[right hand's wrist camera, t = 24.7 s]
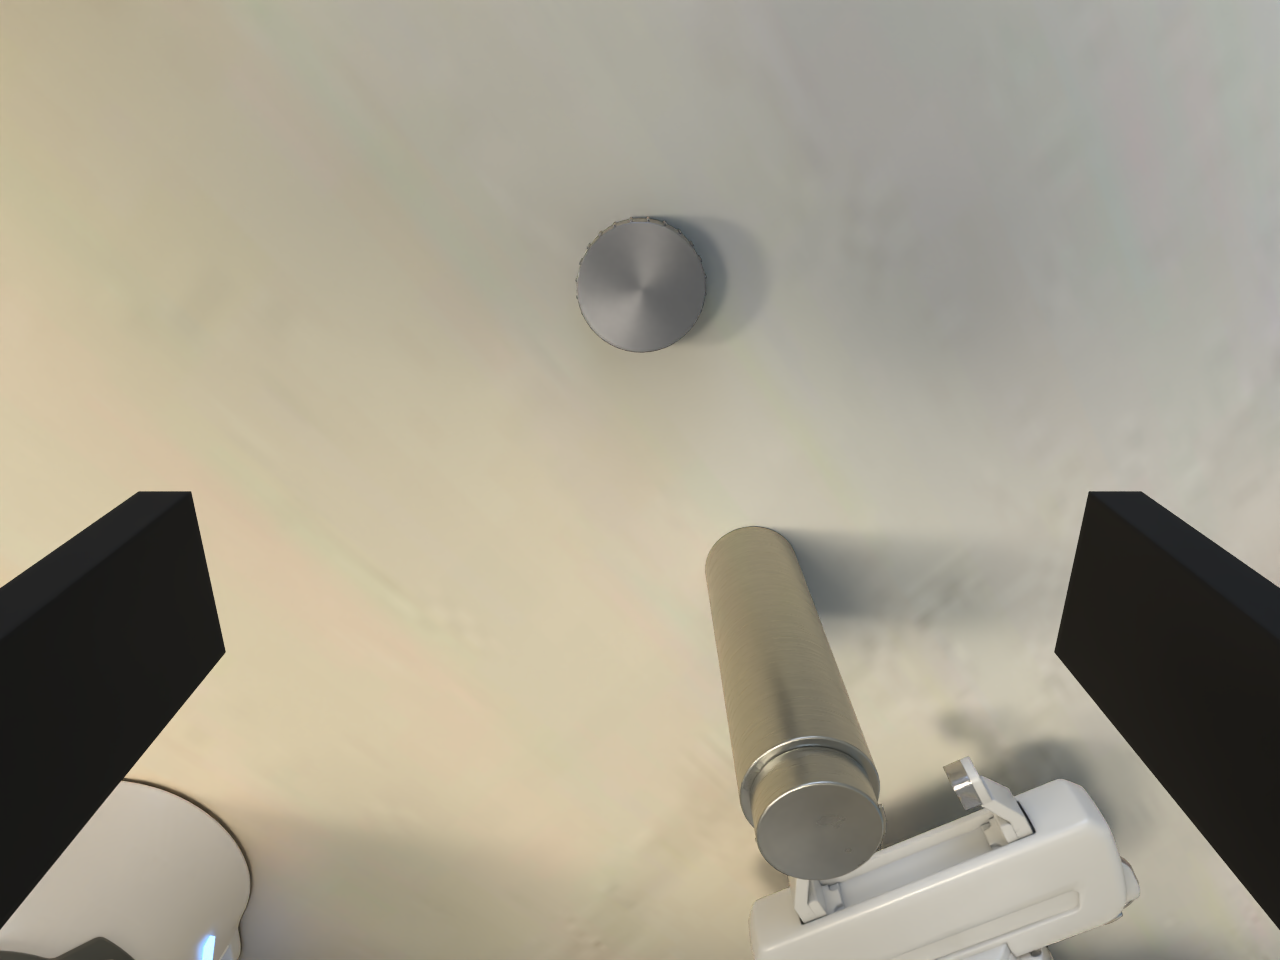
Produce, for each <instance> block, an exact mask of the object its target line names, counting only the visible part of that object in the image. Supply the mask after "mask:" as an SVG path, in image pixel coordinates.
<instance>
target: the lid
mask: <svg viewBox="0 0 1280 960" xmlns="http://www.w3.org/2000/svg"><path fill="white" fill-rule="evenodd" d="M693 246H694V245H693V243H692V242H691V241H688V240H687V238H686V237H685V236H684V235H683V234H682V233H681V231H680V229H678V230H677V229H675V228H674V227H672V226H670V225H668V224H666V221H663V222H661V221H658V220H654V219H649V217H647V218H634V219H633V218H632V217H630V219H628V220H624V221H621V222H619V223H616V222H614V224H613V225H612V226H610V227H609V228H607V229H606V230H604V231H603V232H602V231H600V233H599V235H598V237H597V238H596V239H595V240H594V241H593V242H592V244H591V243H589V245H588V247H587V249H588V250H587V252H586V254H585V256H584V258H582V259H581V261H580V263H579V264H580V268H579V272H578V276H577V278H576V282H577V299H578V302H579V306H580V309H581V312H582V315H583V316H584V318H585V320H586V322H587V323H588V325H589V326H590V328H591V329H592V330H593V331H594V332H595V333H596V334H597V335H598V336H599V337H600V338H601V339H603V340H604V341H606V342H607V343H609V344H610V345H612V346H615V347H617V348H619V349H622V350H626V351H631V352H652V351H656V350H660V349H663V348H666V347H668V346H670V345H672V344H674V343H675V342H677V341H678V340H680V339H681V338H682V337H683V336H684V335H685V334H687V332H688V331H689V330H690V329H691V328H692V327H693V325H694V324H695V322H696V321H697V319H698V317H699V315H700V313H701V311H702V307H703V304H704V299H705V296H706V292H705V290H706V284H705V278H706V275H705V273H704V270H703V267H702V264H701V262H702V259H701V257H700V256H699V255H697V253H696V251H695V249H694V248H693Z"/></svg>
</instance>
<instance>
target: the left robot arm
mask: <svg viewBox="0 0 1280 960" xmlns="http://www.w3.org/2000/svg"><path fill="white" fill-rule="evenodd" d="M943 768H944V771H945V773H946V775H947V776H948V779H949V781H950V783H951V785H952V787H953V789H954V791H955V793H956V795H957V796H958V798H959V800H960V802H961V804H962V806H963V808H964V809H965V810H968V809H971V808H974V807H976V806H979V805H980V806H982V807H984V809H981V810H979V811H976V812H974V813H971V814H969V815H966V816H964V817H961V818H959V819H956V820H954V821H951V822H949V823H946V824H944V825H942V826H939V827H937V828H934V829H932V830H929V831H927V832H924V833H922V834H919V835H917V836H914V837H912V838H909V839H907V840H904V841H902V842H899V843H897V844H894V845H892V846H889V847H887V848H885V849H882V850H880V851H877V852H875V853H874V855H873V856H872V857H871V858H870V859H869V860H868V861H867V862H866V863H865V864H863V865H862V866H861V867H859V868H858V869H856V870H854V871H852V872H851V873H848V874H846V875H843V876H840V877H837V878H833V879H828V880H803V879H798V878H794V877H791V876H788V879H789V884H790V887H788V888H785V889H783V890H780V891H778V892H775V893H773V894H770V895H768V896H765V897H762V898H760V899H758V900H756V901H755V902H754V903H753V906H752V908H751V912H750V916H749V933H750V941H751V947H752V952H753V957H754V960H1054V959H1053V957H1052V955H1051V953H1050V951H1049V949H1048V948H1047V947H1048V945H1051V944H1054V943H1057V942H1060V941H1062V940H1065V939H1068V938H1071V937H1073V936H1075V935H1078V934H1080V933H1083V932H1086V931H1089V930H1091V929H1094V928H1097V927H1099V926H1102V925H1106V924H1109V923H1112V922H1114V921H1116V920H1117V919H1119V918H1120V917H1122V916H1123V914H1122V910H1123V909H1124V908H1126V907H1127V906H1129V905H1130V904H1131V903H1132V902H1133V901H1134V899H1137V898H1138V897H1139V896H1140V887H1139V883H1138V880H1137V878H1136V875H1135V873H1134V871H1133V869H1132V867H1131V865H1130V864H1129V862H1128V861H1127V860H1125V859H1124V858H1123V857H1121V856H1120V854H1119V851H1118V848H1117V844H1116V842H1115V839H1114V836H1113V834H1112V831H1111V829H1110V827H1109V825H1108V823H1107V822H1106V820H1105V818H1104V817H1103V815H1102V814H1101V812H1100V810H1099V809H1098V807H1097V806H1096V804H1095V803H1094V801H1093V800H1092V798H1091V797H1090V796H1089V794H1088V793H1087V792H1086V790H1085V789H1084V788H1083V787H1082V786H1080V785H1078V784H1076V783H1073V782H1071V781H1068V780H1065V779H1056V780H1053V781H1050V782H1048V783H1046V784H1043V785H1041V786H1038V787H1036V788H1033V789H1031V790H1028V791H1026V792H1023V793H1021V794H1018V795H1016V796H1013V795H1012V793H1011V791H1010V789H1009V788H1008V787H1005V786H1003V785H1001V784H999V783H997V782H995V781H993V780H990V779H988V778H986V777H984V776H982V775H981V776H979V774H978V772H977V771H976V769H975V767H974V765H973V763H972V761H971V759H970V757H969V756H967V757H965V758H962V759H960V760H957V761H955V762H953V763H951V764H949V765H946V766H944V767H943ZM249 895H250V875H249V870H248V867H247V863H246V861H245V858H244V856H243V854H242V852H241V850H240V849H239V847H238V845H237V844H236V842H235V841H234V839H233V838H232V837H231V836H230V834H229V833H228V832H227V831H226V830H225V829H224V828H223V827H222V826H221V825H220V824H219V823H218V822H217V821H216V820H215V819H214V818H212V817H211V816H210V815H209V814H207V813H206V812H205V811H203V810H202V809H200V808H199V807H197V806H195V805H194V804H192V803H190V802H189V801H187V800H185V799H183V798H181V797H179V796H177V795H174V794H172V793H169V792H167V791H164V790H161V789H158V788H155V787H152V786H148V785H144V784H139V783H134V782H127V781H121V782H120V783H119V784H118V785H117V787H116V788H115V789H114V790H113V792H112V793H111V794H110V795H109V797H108V798H107V799H106V800H105V801H104V803H103V804H102V805H101V806H100V808H99V809H98V810H97V811H96V813H95V814H94V815H93V816H92V817H91V819H90V820H89V821H88V822H87V824H86V825H85V826H84V827H83V829H82V830H81V831H80V832H79V834H78V835H77V836H76V837H75V838H74V840H73V841H72V842H71V843H70V845H69V846H68V847H67V848H66V850H65V851H64V852H63V853H62V854H61V856H60V857H59V858H58V859H57V861H56V862H55V863H54V864H53V866H52V867H51V868H50V869H49V870H48V872H47V873H46V874H45V875H44V877H43V878H42V879H41V880H40V882H39V883H38V884H37V885H36V887H35V888H34V889H33V890H32V891H31V893H30V894H29V895H28V896H27V898H26V899H25V900H24V901H23V903H22V904H21V905H20V906H19V907H18V909H17V910H16V911H15V912H14V914H13V915H12V916H11V917H10V919H9V920H8V921H7V922H6V923H5V925H4V926H3V927H2V928H1V930H0V960H237V959H238V957H239V955H240V952H241V943H240V936H239V931H238V926H239V922H240V919H241V917H242V915H243V913H244V911H245V908H246V906H247V903H248V900H249Z"/></svg>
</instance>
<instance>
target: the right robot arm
mask: <svg viewBox="0 0 1280 960" xmlns="http://www.w3.org/2000/svg"><path fill="white" fill-rule="evenodd" d="M225 652H226V651H225V647H224V642H223V638H222V633H221V628H220V624H219V619H218V614H217V610H216V605H215V600H214V596H213V591H212V586H211V582H210V577H209V572H208V568H207V563H206V558H205V554H204V549H203V545H202V540H201V535H200V531H199V526H198V521H197V517H196V512H195V507H194V503H193V498H192V493H191V492H137V493H136V494H134V495H133V496H132V497H130V498H129V499H127V500H126V501H124V502H123V503H122V504H120V505H119V506H117V507H116V508H114V509H113V510H112V511H110V512H109V513H107V514H106V515H104V516H103V517H101V518H100V519H99V520H97V521H96V522H94V523H93V524H91V525H90V526H89V527H87V528H86V529H84V530H83V531H81V532H80V533H79V534H77V535H76V536H74V537H73V538H71V539H70V540H69V541H67V542H66V543H64V544H63V545H61V546H60V547H59V548H57V549H56V550H54V551H53V552H51V553H50V554H49V555H47V556H46V557H44V558H43V559H41V560H40V561H38V562H37V563H36V564H34V565H33V566H31V567H30V568H28V569H27V570H26V571H24V572H23V573H21V574H20V575H18V576H17V577H16V578H14V579H13V580H11V581H10V582H8V583H7V584H6V585H4V586H3V587H1V588H0V930H1V928H2V927H3V926H4V925H5V923H6V922H7V921H8V920H9V919H10V917H11V916H12V915H13V914H14V912H15V911H16V910H17V909H18V907H19V906H20V905H21V904H22V903H23V901H24V900H25V899H26V898H27V896H28V895H29V894H30V893H31V891H32V890H33V889H34V888H35V887H36V885H37V884H38V883H39V882H40V880H41V879H42V878H43V877H44V875H45V874H46V873H47V872H48V870H49V869H50V868H51V867H52V866H53V864H54V863H55V862H56V861H57V859H58V858H59V857H60V856H61V854H62V853H63V852H64V851H65V850H66V848H67V847H68V846H69V845H70V843H71V842H72V841H73V840H74V838H75V837H76V836H77V835H78V834H79V832H80V831H81V830H82V829H83V827H84V826H85V825H86V824H87V822H88V821H89V820H90V819H91V817H92V816H93V815H94V814H95V813H96V811H97V810H98V809H99V808H100V806H101V805H102V804H103V803H104V801H105V800H106V799H107V798H108V797H109V795H110V794H111V793H112V792H113V790H114V789H115V788H116V787H117V785H118V784H119V783H120V782H121V781H122V779H123V778H124V777H125V776H126V774H127V773H128V772H129V771H130V769H131V768H132V767H133V766H134V765H135V763H136V762H137V761H138V760H139V758H140V757H141V756H142V755H143V753H144V752H145V751H146V750H147V748H148V747H149V746H150V745H151V744H152V742H153V741H154V740H155V739H156V737H157V736H158V735H159V734H160V732H161V731H162V730H163V729H164V728H165V726H166V725H167V724H168V723H169V721H170V720H171V719H172V718H173V716H174V715H175V714H176V713H177V712H178V710H179V709H180V708H181V707H182V705H183V704H184V703H185V702H186V700H187V699H188V698H189V697H190V695H191V694H192V693H193V692H194V691H195V689H196V688H197V687H198V686H199V684H200V683H201V682H202V681H203V679H204V678H205V677H206V676H207V675H208V673H209V672H210V671H211V670H212V668H213V667H214V666H215V665H216V663H217V662H218V661H219V660H220V659H221V657H222V656H223V655H224V654H225ZM1054 652H1055V654H1056V655H1057V656H1058V657H1059V659H1060V660H1061V661H1062V662H1063V663H1064V665H1065V666H1066V667H1067V668H1068V670H1069V671H1070V672H1071V673H1072V675H1073V676H1074V677H1075V678H1076V679H1077V681H1078V682H1079V683H1080V684H1081V686H1082V687H1083V688H1084V689H1085V691H1086V692H1087V693H1088V694H1089V695H1090V697H1091V698H1092V699H1093V700H1094V702H1095V703H1096V704H1097V705H1098V707H1099V708H1100V709H1101V710H1102V712H1103V713H1104V714H1105V715H1106V716H1107V718H1108V719H1109V720H1110V721H1111V723H1112V724H1113V725H1114V726H1115V728H1116V729H1117V730H1118V731H1119V732H1120V734H1121V735H1122V736H1123V737H1124V739H1125V740H1126V741H1127V742H1128V744H1129V745H1130V746H1131V747H1132V748H1133V750H1134V751H1135V752H1136V753H1137V755H1138V756H1139V757H1140V758H1141V760H1142V761H1143V762H1144V763H1145V765H1146V766H1147V767H1148V768H1149V769H1150V771H1151V772H1152V773H1153V774H1154V776H1155V777H1156V778H1157V779H1158V781H1159V782H1160V783H1161V784H1162V785H1163V787H1164V788H1165V789H1166V790H1167V792H1168V793H1169V794H1170V795H1171V797H1172V798H1173V799H1174V800H1175V801H1176V803H1177V804H1178V805H1179V806H1180V808H1181V809H1182V810H1183V811H1184V813H1185V814H1186V815H1187V816H1188V817H1189V819H1190V820H1191V821H1192V822H1193V824H1194V825H1195V826H1196V827H1197V829H1198V830H1199V831H1200V832H1201V834H1202V835H1203V836H1204V837H1205V838H1206V840H1207V841H1208V842H1209V843H1210V845H1211V846H1212V847H1213V848H1214V850H1215V851H1216V852H1217V853H1218V854H1219V856H1220V857H1221V858H1222V859H1223V861H1224V862H1225V863H1226V864H1227V866H1228V867H1229V868H1230V869H1231V870H1232V872H1233V873H1234V874H1235V875H1236V877H1237V878H1238V879H1239V880H1240V882H1241V883H1242V884H1243V885H1244V887H1245V888H1246V889H1247V890H1248V891H1249V893H1250V894H1251V895H1252V896H1253V898H1254V899H1255V900H1256V901H1257V903H1258V904H1259V905H1260V906H1261V907H1262V909H1263V910H1264V911H1265V912H1266V914H1267V915H1268V916H1269V917H1270V919H1271V920H1272V921H1273V922H1274V923H1275V925H1276V926H1277V927H1278V928H1279V930H1280V588H1279V587H1277V586H1276V585H1274V584H1273V583H1272V582H1270V581H1269V580H1267V579H1266V578H1264V577H1263V576H1262V575H1260V574H1259V573H1257V572H1256V571H1254V570H1253V569H1252V568H1250V567H1249V566H1247V565H1246V564H1244V563H1243V562H1242V561H1240V560H1239V559H1237V558H1236V557H1234V556H1233V555H1231V554H1230V553H1229V552H1227V551H1226V550H1224V549H1223V548H1221V547H1220V546H1219V545H1217V544H1216V543H1214V542H1213V541H1211V540H1210V539H1209V538H1207V537H1206V536H1204V535H1203V534H1201V533H1200V532H1199V531H1197V530H1196V529H1194V528H1193V527H1191V526H1190V525H1189V524H1187V523H1186V522H1184V521H1183V520H1181V519H1180V518H1179V517H1177V516H1176V515H1174V514H1173V513H1171V512H1170V511H1168V510H1167V509H1166V508H1164V507H1163V506H1161V505H1160V504H1158V503H1157V502H1156V501H1154V500H1153V499H1151V498H1150V497H1148V496H1147V495H1146V494H1144V493H1143V492H1089V493H1088V498H1087V503H1086V507H1085V512H1084V517H1083V521H1082V526H1081V531H1080V535H1079V540H1078V545H1077V549H1076V554H1075V558H1074V563H1073V568H1072V572H1071V577H1070V582H1069V586H1068V591H1067V596H1066V600H1065V605H1064V610H1063V614H1062V619H1061V624H1060V628H1059V633H1058V638H1057V642H1056V647H1055V651H1054Z"/></svg>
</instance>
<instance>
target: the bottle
mask: <svg viewBox="0 0 1280 960" xmlns="http://www.w3.org/2000/svg"><path fill="white" fill-rule="evenodd" d="M705 573H706V580H707V587H708V593H709V600H710V607H711V613H712V620H713V626H714V633H715V640H716V646H717V653H718V659H719V666H720V673H721V679H722V686H723V692H724V699H725V706H726V712H727V719H728V725H729V732H730V739H731V745H732V752H733V758H734V765H735V772H736V778H737V785H738V791H739V798H740V804H741V808H742V811H743V813H744V815H745V817H746V819H747V820H748V822H749V823H750V824H751V825H752V826H753V827H754V829H755V835H756V838H755V840H756V842H757V845H758V848H759V850H760V852H761V854H762V855H763V857H764V858H765V859H766V861H767V862H768V863H769V864H770V865H771V866H773V867H774V868H775V869H777V870H778V871H780V872H782V873H784V874H786V875H788V876H791V877H794V878H798V879H803V880H828V879H833V878H837V877H840V876H843V875H846V874H848V873H851V872H852V871H854V870H856V869H858V868H859V867H861V866H862V865H863V864H865V863H866V862H867V861H868V860H869V859H870V858H871V857H872V856H873V855H874V853H875V852H876V850H877V849H878V847H879V845H881V842H882V839H883V836H884V834H886V821H887V819H886V816H885V813H884V809H883V806H882V804H879V805H878V798H879V793H880V781H879V776H878V773H877V770H876V767H875V765H874V762H873V760H872V757H871V754H870V752H869V749H868V746H867V744H866V741H865V738H864V736H863V733H862V730H861V728H860V725H859V722H858V720H857V717H856V714H855V712H854V709H853V706H852V704H851V701H850V698H849V696H848V693H847V690H846V688H845V685H844V682H843V680H842V677H841V674H840V672H839V669H838V666H837V664H836V661H835V659H834V656H833V653H832V651H831V648H830V645H829V643H828V640H827V637H826V635H825V632H824V629H823V627H822V624H821V621H820V619H819V616H818V613H817V611H816V608H815V605H814V603H813V600H812V597H811V595H810V592H809V589H808V587H807V584H806V581H805V579H804V576H803V573H802V571H801V568H800V565H799V563H798V560H797V558H796V555H795V552H794V550H793V548H792V546H791V545H790V544H789V542H788V541H787V540H786V539H785V538H784V537H783V536H781V535H780V534H778V533H776V532H774V531H772V530H770V529H766V528H762V527H745V528H740V529H737V530H734V531H732V532H730V533H728V534H726V535H725V536H723V537H722V538H721V539H720V540H718V541H717V543H716V544H715V545H714V546H713V547H712V549H711V550H710V553H709V555H708V557H707V560H706V566H705Z"/></svg>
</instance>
